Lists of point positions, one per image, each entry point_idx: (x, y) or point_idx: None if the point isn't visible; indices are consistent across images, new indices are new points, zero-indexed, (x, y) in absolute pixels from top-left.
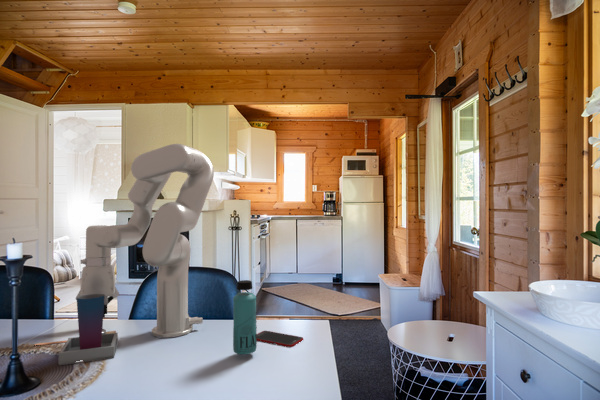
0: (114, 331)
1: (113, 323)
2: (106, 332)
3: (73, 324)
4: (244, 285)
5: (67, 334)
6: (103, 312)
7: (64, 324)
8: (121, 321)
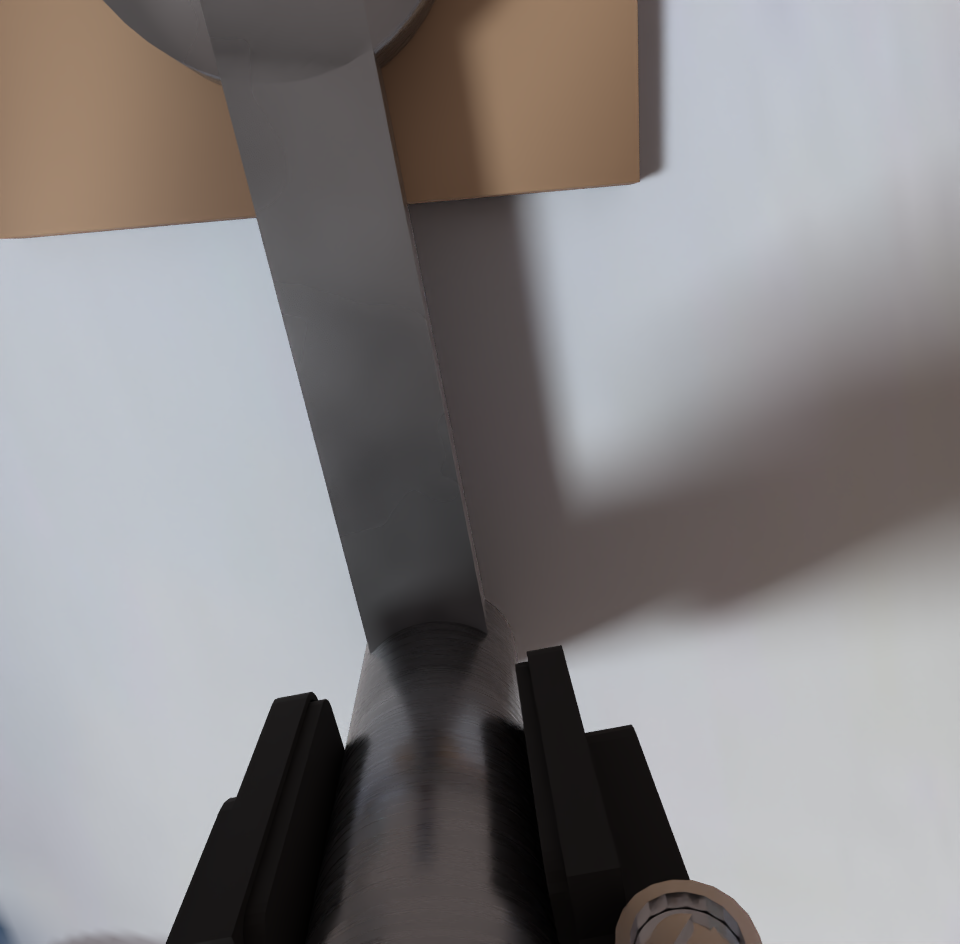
0: (9, 192)
1: None
2: (155, 166)
3: (827, 881)
4: None
5: (858, 402)
6: (278, 768)
7: (943, 908)
8: (158, 862)
